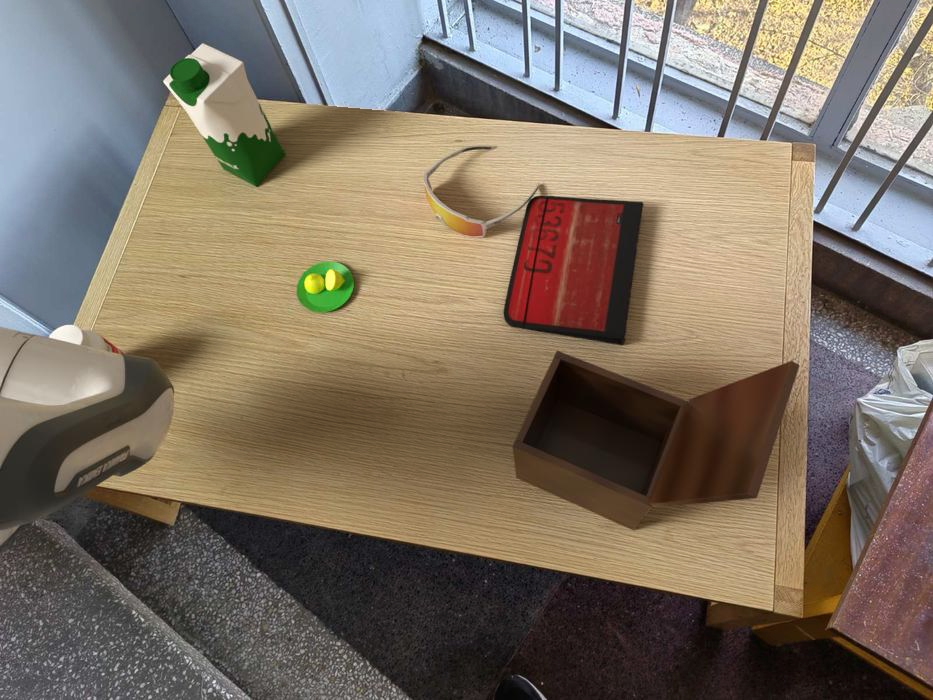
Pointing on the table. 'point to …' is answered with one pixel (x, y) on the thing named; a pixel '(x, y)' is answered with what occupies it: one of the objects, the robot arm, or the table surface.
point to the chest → (597, 439)
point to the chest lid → (726, 440)
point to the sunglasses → (455, 219)
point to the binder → (574, 268)
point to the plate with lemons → (325, 286)
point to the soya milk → (226, 112)
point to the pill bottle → (83, 338)
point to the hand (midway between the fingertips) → (67, 392)
